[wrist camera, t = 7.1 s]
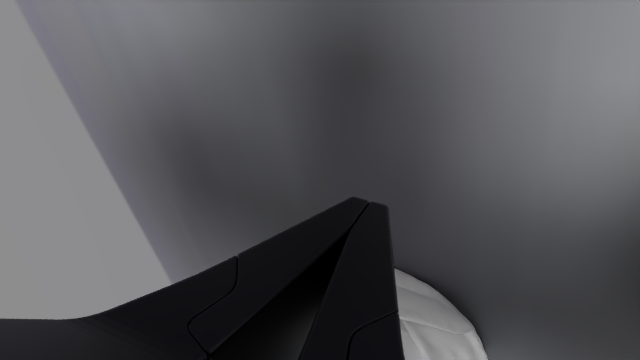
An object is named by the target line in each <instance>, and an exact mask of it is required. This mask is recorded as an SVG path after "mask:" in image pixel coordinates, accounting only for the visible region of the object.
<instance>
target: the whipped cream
mask: <svg viewBox="0 0 640 360" xmlns="http://www.w3.org/2000/svg"><path fill="white" fill-rule="evenodd" d="M394 269H395V280H396V290H397V300H398V310H399V313H398V314H399V318H400V329H401V336H402V343H403V350H404V356H405V360H488V357H487V354H486V352H485V350H484V348H483V345H482V342H481V340H480V337H479V336H478V335H477V334H476V331H475V328H474V327H473V325H472V324H471V322H470V321H469V320H468V319H467V318H466V317H465V316H464V315H462V314H461V313H460V312H459V311H458V310H457V309H456V307H455V306H454V305H453V304H452V303H450V302H449V301H448V300H447V299H446V298H445V297H444V296H442V295H441V294H440V293H439V292H438V291H436V290H435V289H434V288H432V287H431V286H429V285H428V284H426V283H424V282H422V281H420V280H418V279H416V278H414V277H413V276H411V275H409V274H406V273H404V272H402V271H400V270H398V269H396V268H394Z"/></svg>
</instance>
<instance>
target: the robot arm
mask: <svg viewBox="0 0 640 360" xmlns="http://www.w3.org/2000/svg"><path fill="white" fill-rule="evenodd" d="M398 313H399V310H398V300H397V290H396V280H395V269H394V259H393V249H392V239H391V228H390V218H389V208H388V206H387V205H383V204H380V203H376V202H369V201H368V200H365V199H361V198H357V197H351V198H349V199H347V200H345V201H343V202H341V203H339V204H337V205H335V206H333V207H331V208H329V209H327V210H325V211H323V212H321V213H319V214H317V215H315V216H313V217H311V218H309V219H307V220H305V221H303V222H301V223H299V224H297V225H295V226H293V227H291V228H289V229H287V230H285V231H283V232H281V233H279V234H277V235H276V236H274V237H272V238H270V239H268V240H266V241H264V242H262V243H260V244H258V245H256V246H254V247H252V248H250V249H248V250H246V251H244V252H242V253H240V254H238V257H237V256H234V257H232V258H230V259H228V260H226V261H224V262H222V263H220V264H217V265H215V266H213V267H211V268H209V269H207V270H205V271H203V272H201V273H199V274H196V275H194V276H191V277H189V278H187V279H184V280H182V281H180V282H177V283H175V284H173V285H170V286H168V287H165V288H162V289H160V290H158V291H155V292H153V293H150V294H147V295H145V296H143V297H140V298H137V299H135V300H132V301H130V302H127V303H125V304H123V305H120V306H117V307H115V308H112V309H110V310H107V311H104V312H101V313H99V314H95V315H91V316H87V317H82V318H76V319H66V320H65V319H63V320H52V319H49V320H48V319H0V360H405V356H404V350H403V343H402V336H401V329H400V318H399V314H398Z"/></svg>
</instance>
